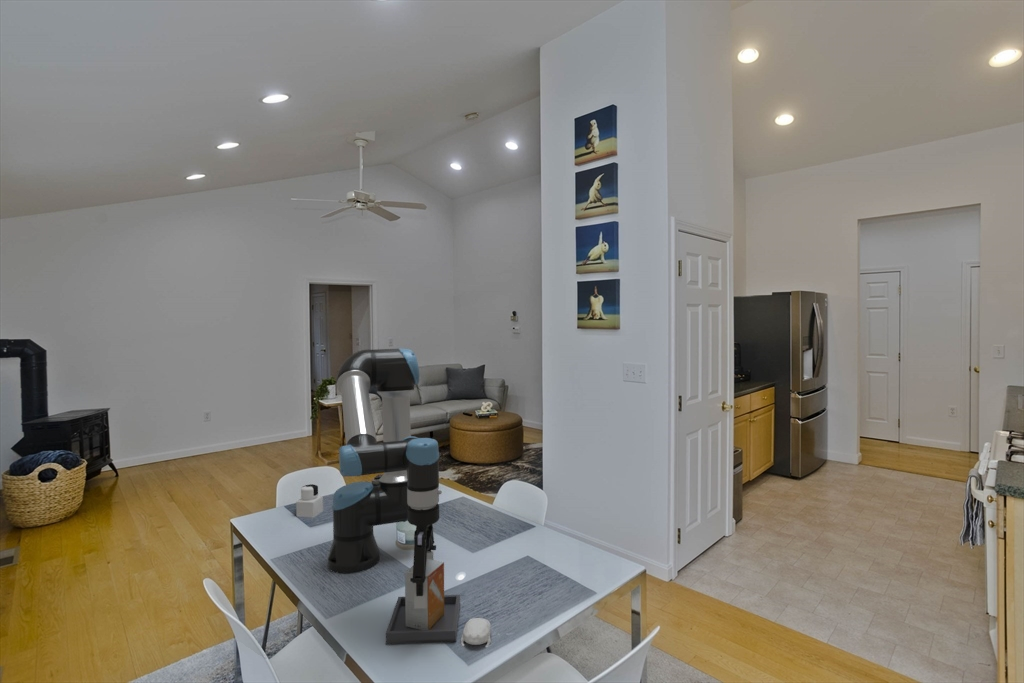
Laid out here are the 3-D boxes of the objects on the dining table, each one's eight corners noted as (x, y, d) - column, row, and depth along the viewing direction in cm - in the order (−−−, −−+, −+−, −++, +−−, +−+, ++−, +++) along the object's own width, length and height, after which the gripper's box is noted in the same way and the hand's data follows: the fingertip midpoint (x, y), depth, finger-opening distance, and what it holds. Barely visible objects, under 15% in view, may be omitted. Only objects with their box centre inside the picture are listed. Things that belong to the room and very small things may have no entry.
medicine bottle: (306, 513, 195) (305, 482, 195) (323, 514, 194) (323, 483, 194) (296, 520, 188) (295, 488, 188) (313, 520, 187) (313, 489, 187)
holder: (385, 644, 112) (385, 633, 112) (398, 606, 128) (398, 596, 128) (455, 641, 113) (455, 630, 113) (460, 604, 128) (459, 594, 128)
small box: (428, 632, 116) (427, 576, 115) (404, 626, 118) (403, 572, 118) (445, 613, 123) (444, 561, 123) (423, 608, 125) (422, 557, 125)
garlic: (488, 651, 110) (488, 634, 110) (458, 650, 110) (458, 633, 110) (493, 630, 118) (493, 614, 118) (465, 628, 118) (465, 612, 118)
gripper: (433, 525, 108) (434, 621, 108) (444, 487, 132) (445, 565, 133) (397, 525, 107) (399, 622, 108) (415, 487, 132) (416, 566, 133)
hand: (424, 591), depth 121 cm, fingers open, 13 cm apart
